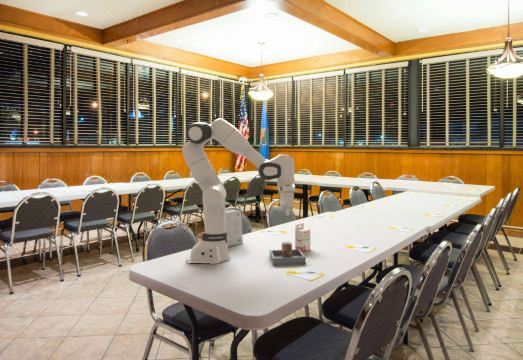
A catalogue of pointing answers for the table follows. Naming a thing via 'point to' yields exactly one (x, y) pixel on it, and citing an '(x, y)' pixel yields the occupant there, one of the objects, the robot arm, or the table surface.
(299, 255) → the sorting tray
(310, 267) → the table surface
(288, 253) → the walnut block
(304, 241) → the ink cartridge box
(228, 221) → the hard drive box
